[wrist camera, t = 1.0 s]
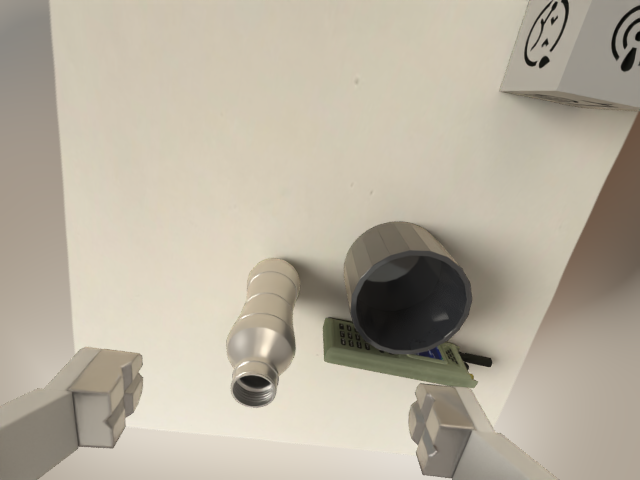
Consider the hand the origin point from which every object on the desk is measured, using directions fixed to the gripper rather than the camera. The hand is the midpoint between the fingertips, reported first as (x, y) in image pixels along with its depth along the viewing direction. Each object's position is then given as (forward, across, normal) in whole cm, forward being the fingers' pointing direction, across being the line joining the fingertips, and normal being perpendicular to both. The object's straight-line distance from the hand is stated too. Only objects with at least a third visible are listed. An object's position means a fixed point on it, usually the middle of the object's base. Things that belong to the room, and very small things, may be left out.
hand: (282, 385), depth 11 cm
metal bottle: (+35, +2, +14) cm, 37 cm away
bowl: (+34, -14, +11) cm, 39 cm away
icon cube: (+34, -25, -17) cm, 46 cm away
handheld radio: (+35, -18, +22) cm, 45 cm away
